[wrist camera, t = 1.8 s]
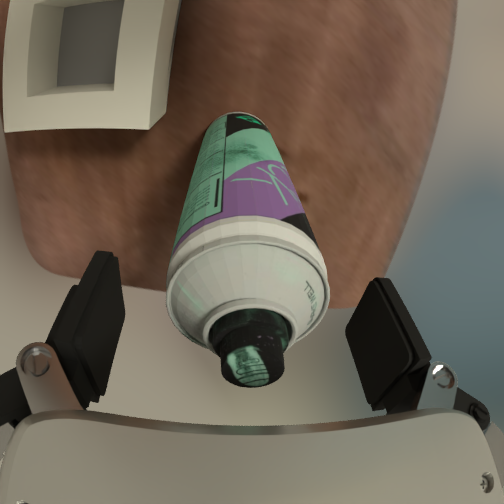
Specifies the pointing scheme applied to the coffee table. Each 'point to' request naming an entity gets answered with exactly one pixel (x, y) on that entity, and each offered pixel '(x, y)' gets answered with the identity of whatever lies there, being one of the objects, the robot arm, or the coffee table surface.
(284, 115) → the coffee table surface
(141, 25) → the can holder
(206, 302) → the spray can
